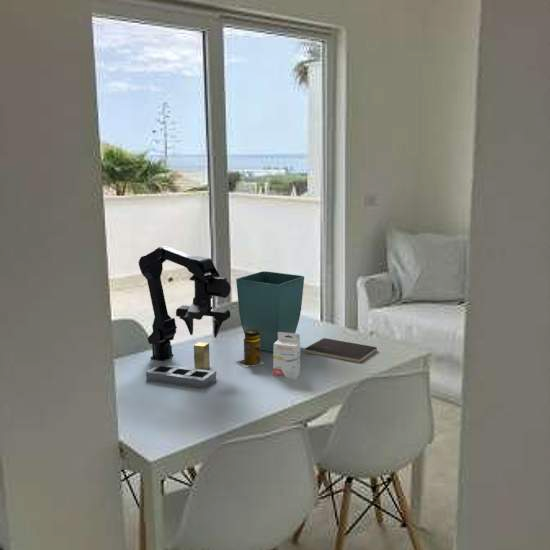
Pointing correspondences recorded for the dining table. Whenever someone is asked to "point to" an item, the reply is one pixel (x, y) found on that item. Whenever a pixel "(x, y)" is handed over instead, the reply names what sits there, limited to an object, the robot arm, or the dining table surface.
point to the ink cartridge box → (286, 355)
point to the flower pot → (270, 304)
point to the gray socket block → (181, 376)
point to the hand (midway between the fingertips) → (203, 336)
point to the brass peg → (201, 355)
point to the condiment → (251, 349)
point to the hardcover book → (341, 349)
